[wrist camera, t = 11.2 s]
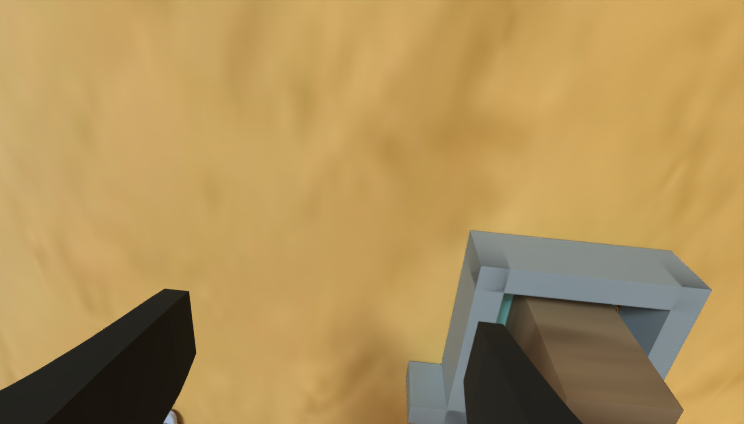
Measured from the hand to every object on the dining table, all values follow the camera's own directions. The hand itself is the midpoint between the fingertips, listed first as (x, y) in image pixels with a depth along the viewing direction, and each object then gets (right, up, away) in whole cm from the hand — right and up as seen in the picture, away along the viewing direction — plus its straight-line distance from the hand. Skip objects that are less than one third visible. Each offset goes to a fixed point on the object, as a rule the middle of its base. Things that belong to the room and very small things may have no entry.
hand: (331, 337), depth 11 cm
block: (+10, -2, +11) cm, 15 cm away
